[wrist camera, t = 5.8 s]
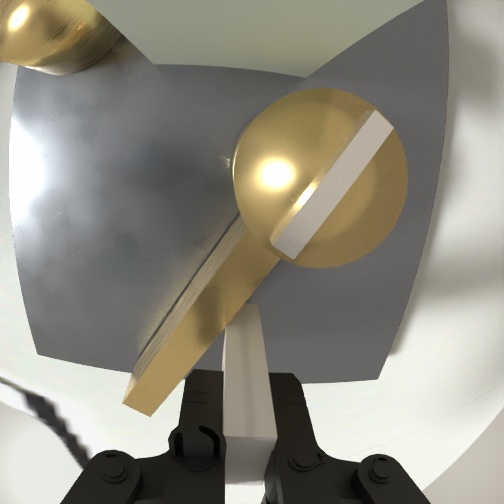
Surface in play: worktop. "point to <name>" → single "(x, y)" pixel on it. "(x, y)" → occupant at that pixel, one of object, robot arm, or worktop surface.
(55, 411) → the worktop surface
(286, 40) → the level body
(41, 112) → the grey knob board
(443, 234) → the worktop surface
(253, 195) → the knob
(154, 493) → the robot arm
